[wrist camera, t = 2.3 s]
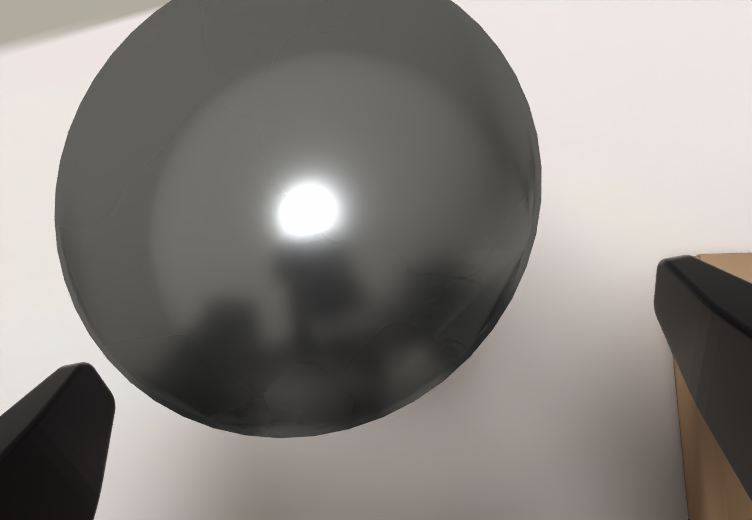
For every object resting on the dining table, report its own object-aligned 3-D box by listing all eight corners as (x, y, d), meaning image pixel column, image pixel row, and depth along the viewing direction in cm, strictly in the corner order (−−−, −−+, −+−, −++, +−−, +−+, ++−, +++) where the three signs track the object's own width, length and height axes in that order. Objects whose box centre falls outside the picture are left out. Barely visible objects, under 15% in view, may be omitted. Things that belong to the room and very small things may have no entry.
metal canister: (478, 383, 17) (558, 440, 5) (326, 384, 18) (32, 435, 5) (473, 232, 18) (527, -66, 6) (328, 237, 19) (76, -23, 6)
